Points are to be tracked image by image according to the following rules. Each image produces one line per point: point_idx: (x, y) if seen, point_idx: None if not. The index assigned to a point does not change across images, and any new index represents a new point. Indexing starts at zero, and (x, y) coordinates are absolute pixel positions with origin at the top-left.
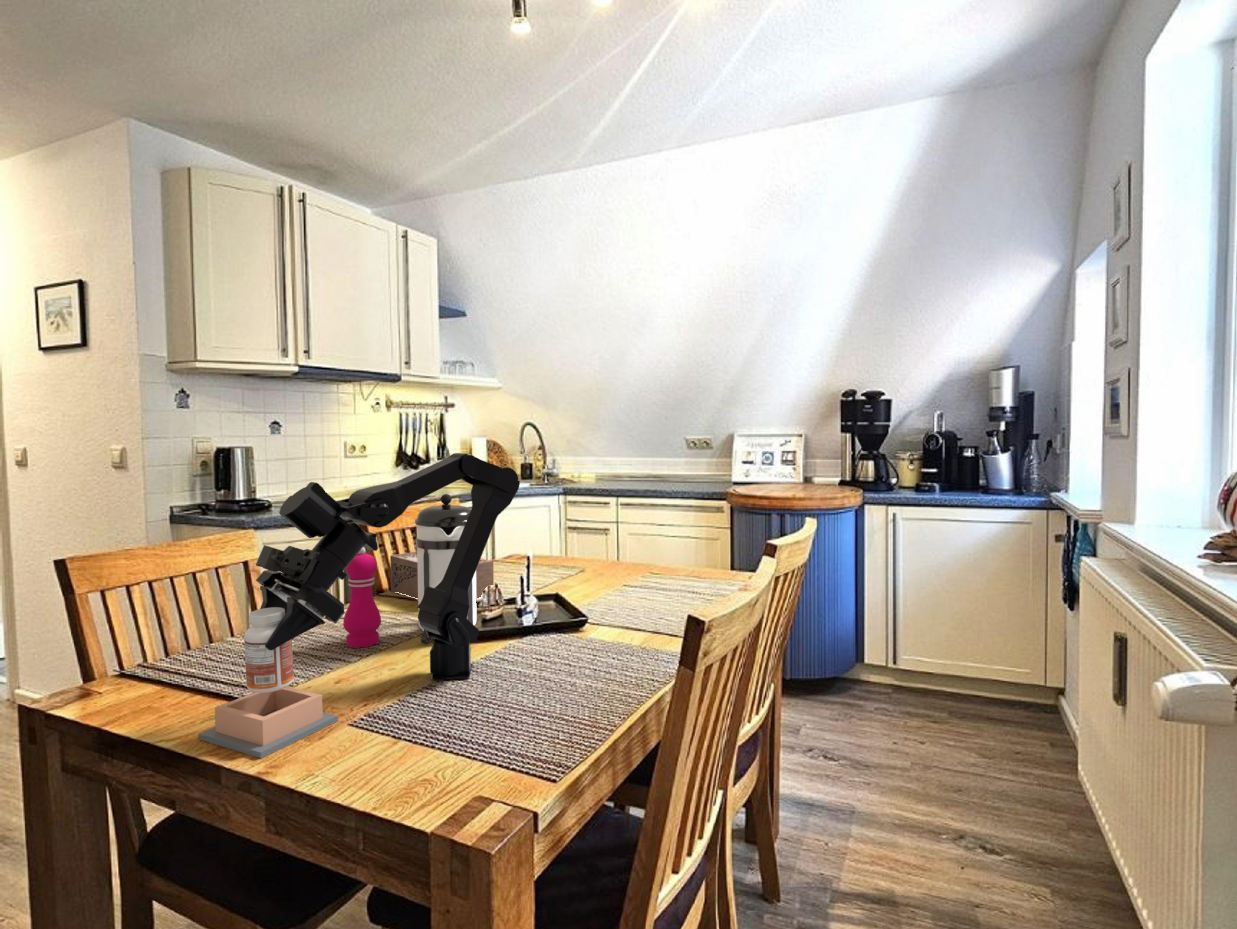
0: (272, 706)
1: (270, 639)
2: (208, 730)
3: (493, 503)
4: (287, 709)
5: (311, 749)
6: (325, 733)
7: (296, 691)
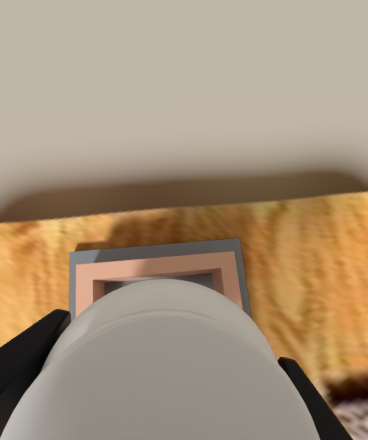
0: None
1: (27, 331)
2: (239, 254)
3: None
4: None
5: (16, 324)
6: None
7: None
